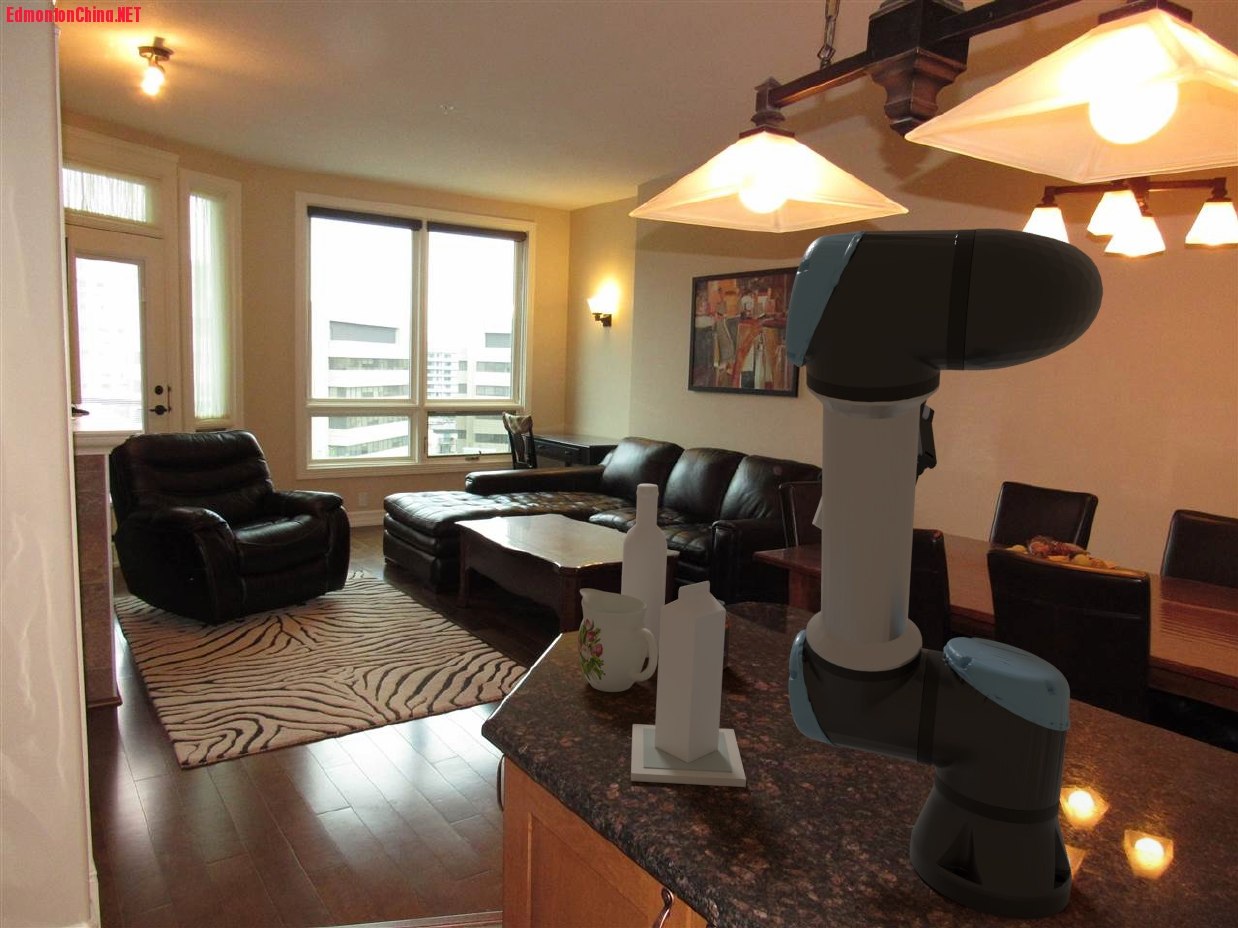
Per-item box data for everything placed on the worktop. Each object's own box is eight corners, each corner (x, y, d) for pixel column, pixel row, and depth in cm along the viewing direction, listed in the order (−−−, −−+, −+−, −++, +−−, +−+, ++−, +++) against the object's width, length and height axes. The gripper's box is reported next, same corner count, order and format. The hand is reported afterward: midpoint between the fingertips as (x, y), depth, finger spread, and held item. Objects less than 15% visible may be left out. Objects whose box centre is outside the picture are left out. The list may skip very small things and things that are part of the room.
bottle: (634, 640, 153) (641, 480, 149) (671, 649, 148) (679, 485, 145) (609, 651, 146) (616, 484, 143) (647, 661, 142) (654, 489, 138)
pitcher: (626, 713, 120) (630, 622, 119) (553, 675, 134) (555, 593, 132) (679, 696, 127) (683, 610, 126) (605, 662, 141) (608, 583, 139)
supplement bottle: (711, 657, 145) (715, 595, 144) (735, 668, 140) (738, 603, 139) (685, 663, 142) (688, 599, 140) (709, 674, 137) (712, 608, 136)
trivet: (745, 786, 100) (746, 777, 100) (630, 780, 101) (631, 771, 101) (733, 735, 114) (733, 728, 114) (632, 730, 115) (632, 722, 115)
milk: (718, 750, 107) (729, 585, 105) (687, 764, 103) (698, 593, 101) (683, 733, 112) (693, 575, 109) (652, 746, 108) (661, 582, 105)
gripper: (995, 376, 101) (949, 530, 95) (861, 416, 124) (816, 543, 118) (951, 345, 99) (901, 500, 93) (823, 391, 122) (775, 519, 115)
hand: (854, 524), depth 105 cm, fingers open, 13 cm apart
